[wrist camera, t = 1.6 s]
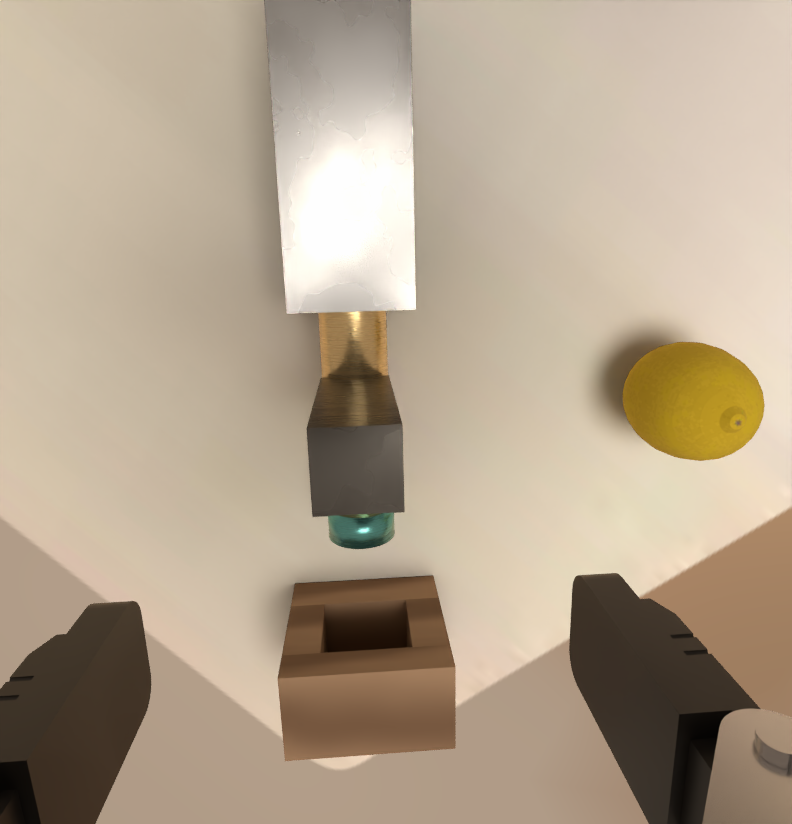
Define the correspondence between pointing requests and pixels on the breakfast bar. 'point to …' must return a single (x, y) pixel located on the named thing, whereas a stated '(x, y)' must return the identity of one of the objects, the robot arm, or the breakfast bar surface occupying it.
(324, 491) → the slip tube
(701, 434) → the lemon
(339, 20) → the sleeve
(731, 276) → the breakfast bar surface
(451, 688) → the socket
